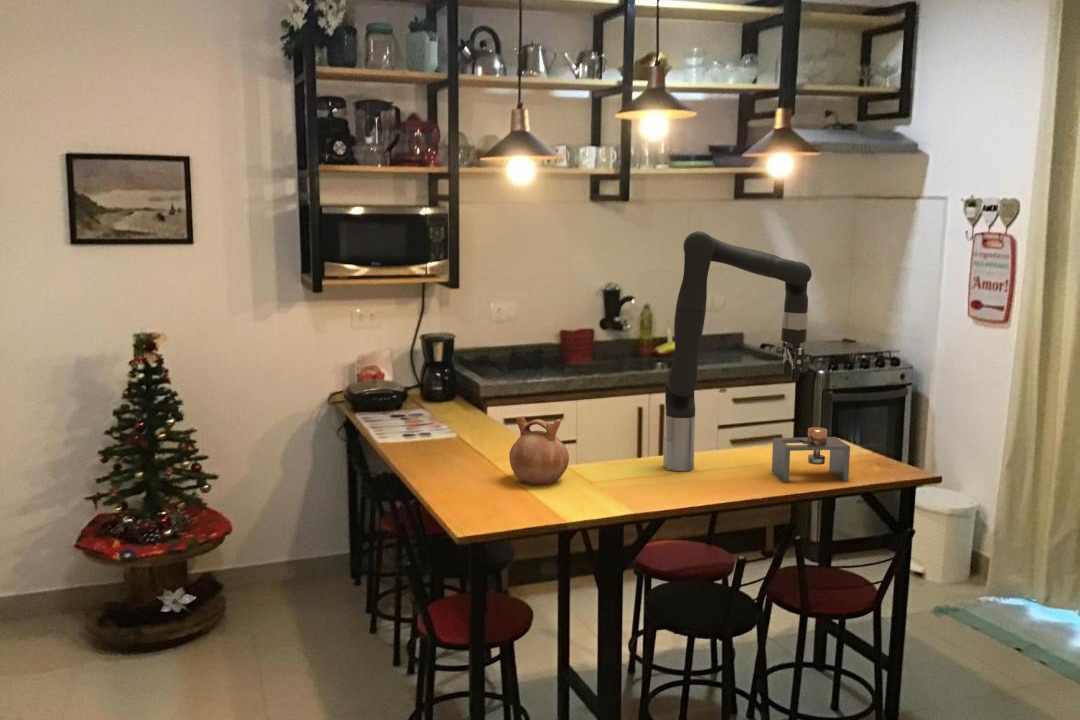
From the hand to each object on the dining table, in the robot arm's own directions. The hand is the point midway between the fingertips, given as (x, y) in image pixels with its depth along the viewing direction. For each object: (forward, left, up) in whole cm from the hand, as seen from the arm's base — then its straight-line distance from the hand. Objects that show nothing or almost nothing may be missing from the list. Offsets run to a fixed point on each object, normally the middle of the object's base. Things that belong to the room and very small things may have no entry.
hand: (790, 378), depth 300 cm
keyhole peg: (+7, -7, -25) cm, 27 cm away
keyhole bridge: (+5, -7, -30) cm, 31 cm away
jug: (-79, -5, -30) cm, 85 cm away
